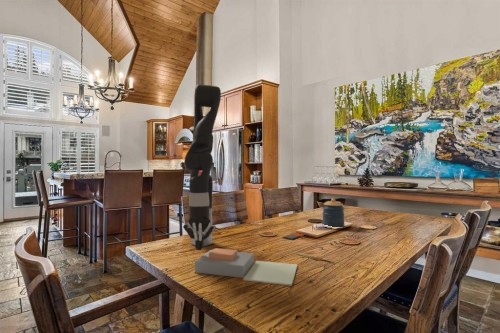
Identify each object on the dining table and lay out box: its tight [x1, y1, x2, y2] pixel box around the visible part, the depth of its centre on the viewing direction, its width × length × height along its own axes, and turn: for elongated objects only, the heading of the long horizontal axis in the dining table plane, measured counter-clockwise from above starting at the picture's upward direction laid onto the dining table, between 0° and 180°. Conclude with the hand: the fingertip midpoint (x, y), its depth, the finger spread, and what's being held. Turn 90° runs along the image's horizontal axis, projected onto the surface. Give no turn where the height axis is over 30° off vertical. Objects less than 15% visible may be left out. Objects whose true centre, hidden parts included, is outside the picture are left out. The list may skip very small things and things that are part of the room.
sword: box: [284, 250, 334, 264], centre depth 117 cm, size 25×4×1 cm, turn 46°
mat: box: [242, 260, 298, 287], centre depth 99 cm, size 16×18×1 cm
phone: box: [282, 231, 305, 241], centre depth 149 cm, size 6×1×15 cm
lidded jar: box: [321, 197, 345, 228], centre depth 170 cm, size 13×13×18 cm
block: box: [209, 247, 238, 261], centre depth 104 cm, size 9×6×2 cm, turn 75°
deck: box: [194, 249, 255, 279], centre depth 104 cm, size 18×14×4 cm
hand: (199, 249), depth 106 cm, fingers closed
